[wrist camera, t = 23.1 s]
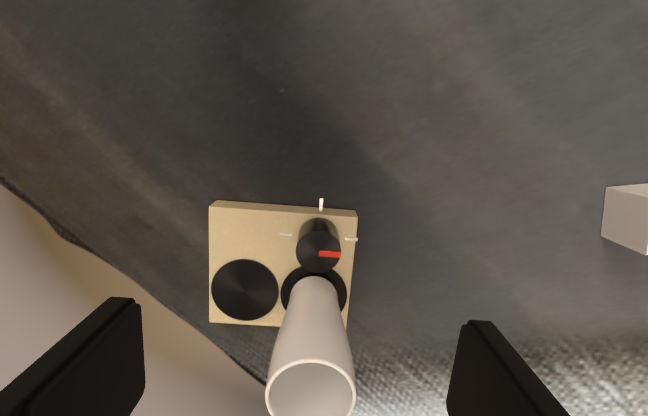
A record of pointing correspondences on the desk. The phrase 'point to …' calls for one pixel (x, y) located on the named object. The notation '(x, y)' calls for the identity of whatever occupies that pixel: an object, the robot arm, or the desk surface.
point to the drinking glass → (311, 356)
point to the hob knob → (318, 245)
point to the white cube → (627, 216)
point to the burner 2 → (302, 273)
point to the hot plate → (271, 245)
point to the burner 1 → (244, 289)
